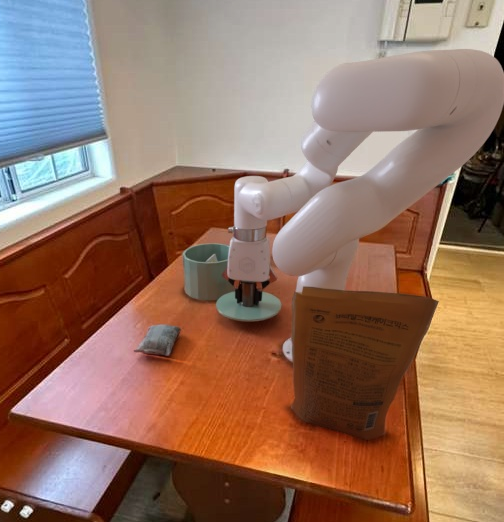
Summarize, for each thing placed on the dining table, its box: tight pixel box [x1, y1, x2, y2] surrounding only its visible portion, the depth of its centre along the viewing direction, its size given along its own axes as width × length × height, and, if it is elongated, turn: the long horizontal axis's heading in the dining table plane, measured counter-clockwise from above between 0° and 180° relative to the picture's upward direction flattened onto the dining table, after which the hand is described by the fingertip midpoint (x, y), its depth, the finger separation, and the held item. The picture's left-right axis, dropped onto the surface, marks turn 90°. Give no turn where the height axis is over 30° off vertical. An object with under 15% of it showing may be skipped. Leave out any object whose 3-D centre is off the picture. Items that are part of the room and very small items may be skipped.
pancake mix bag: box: [290, 286, 440, 441], centre depth 65 cm, size 7×19×28 cm, turn 62°
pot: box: [182, 242, 235, 301], centre depth 119 cm, size 16×16×12 cm
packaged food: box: [133, 324, 182, 357], centre depth 96 cm, size 9×12×5 cm
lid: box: [215, 280, 282, 322], centre depth 103 cm, size 17×17×8 cm
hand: (248, 301), depth 104 cm, fingers closed on lid, 4 cm apart
